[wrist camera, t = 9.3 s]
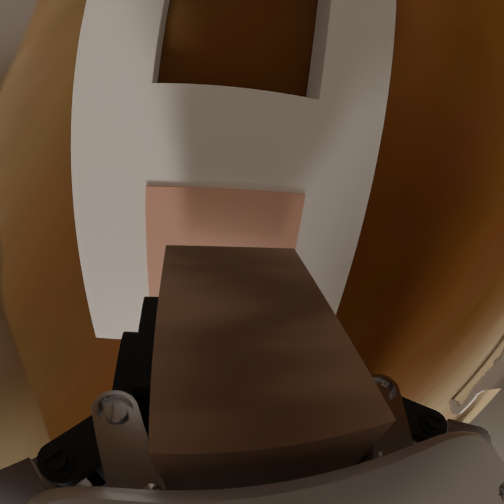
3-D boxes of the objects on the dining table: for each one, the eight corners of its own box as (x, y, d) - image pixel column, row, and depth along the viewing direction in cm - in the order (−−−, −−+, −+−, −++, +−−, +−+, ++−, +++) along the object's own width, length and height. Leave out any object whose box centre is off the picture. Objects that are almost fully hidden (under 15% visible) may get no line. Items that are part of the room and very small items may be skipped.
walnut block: (294, 248, 12) (396, 419, 5) (274, 340, 14) (326, 492, 8) (166, 245, 11) (148, 452, 4) (169, 341, 13) (173, 510, 6)
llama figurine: (482, 311, 39) (444, 409, 39) (535, 326, 28) (490, 435, 28) (485, 312, 39) (449, 408, 39) (537, 327, 29) (494, 433, 29)
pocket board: (379, -32, 11) (398, -42, 9) (319, 318, 23) (329, 337, 21) (121, -70, 8) (114, -86, 6) (102, 318, 19) (95, 339, 17)
